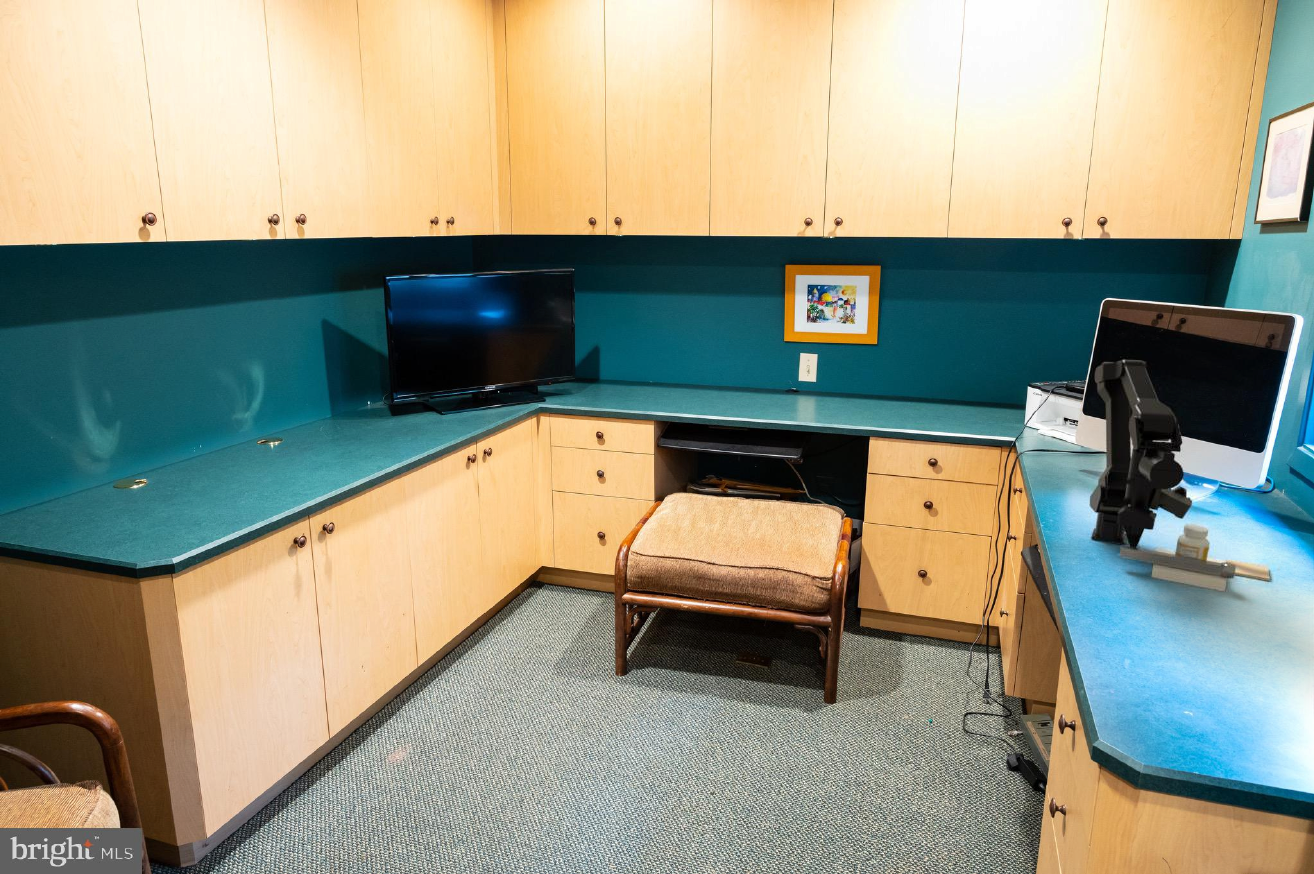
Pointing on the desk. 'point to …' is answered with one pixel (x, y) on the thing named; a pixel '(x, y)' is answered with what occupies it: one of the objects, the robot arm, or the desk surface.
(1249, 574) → the coaster
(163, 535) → the desk surface
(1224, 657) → the desk surface
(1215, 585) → the socket housing
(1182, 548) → the supplement bottle
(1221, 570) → the latch arm
